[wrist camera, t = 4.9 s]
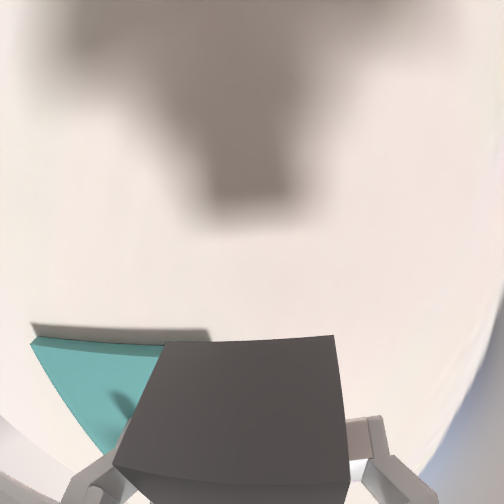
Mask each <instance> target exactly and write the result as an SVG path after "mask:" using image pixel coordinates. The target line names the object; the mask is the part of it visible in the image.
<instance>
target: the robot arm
mask: <svg viewBox="0 0 504 504" xmlns="http://www.w3.org/2000/svg"><path fill="white" fill-rule="evenodd" d="M130 420H131V419H130ZM130 420H129V422H130ZM129 422H128V424H127V427H128V425H129ZM345 422H346V431H347V441H348V452H349V463H350V475H351V481H350V482H355V481H361V482H362V483H363V485H364V486H365V487H366V488H367V490H368V491H369V492H370V493H371V494H372V496H373V497H374V498H375V499H376V500H377V501H378V503H379V504H439V501H438V496H437V493H436V492H435V491H433V490H432V489H431V488H430V487H429V486H428V485H427V484H426V483H424V482H423V481H422V480H421V479H420V478H419V477H418V476H417V475H416V474H414V473H413V472H412V471H411V470H410V469H409V468H408V467H407V466H406V465H405V464H403V463H402V462H401V461H400V460H399V459H398V458H397V457H396V456H395V455H390V453H389V448H388V442H387V437H386V432H385V427H384V422H383V418H382V416H381V415H377V416H370V417H361V418H354V419H347V420H345ZM127 427H126V429H127ZM126 429H125V431H126ZM125 431H124V433H123V436H124V434H125ZM123 436H122V438H123ZM122 438H121V440H120V443H121V441H122ZM120 443H119V445H120ZM119 445H118V447H117V449H114V448H113V449H112V450H111V451H109V452H108V453H107V454H105V455H104V456H102V457H101V458H99V459H98V460H97V461H95V462H94V463H92V464H91V465H89V466H88V467H86V468H85V469H84V470H82V471H81V472H79V473H78V474H76V475H75V476H73V477H72V478H71V481H70V483H69V485H68V487H67V489H66V492H65V494H64V496H63V498H62V500H61V502H57V501H56V500H53V499H51V498H49V497H47V496H45V495H43V494H41V493H39V492H38V491H36V490H33V489H32V488H30V487H28V486H26V485H25V484H23V483H21V482H19V481H18V480H16V479H14V478H12V477H11V476H9V475H7V474H6V473H4V472H2V471H1V470H0V504H123V503H124V502H125V501H127V500H128V499H129V498H130V497H131V496H132V495H133V494H134V493H135V492H136V491H137V490H138V489H137V488H136V487H135V486H133V485H132V484H131V483H130V482H129V481H128V480H127V479H126V478H125V477H124V476H123V475H122V474H121V473H120V472H119V471H118V470H117V469H116V468H115V467H114V466H113V465H112V462H113V460H114V457H115V455H116V452H117V450H118V448H119ZM503 504H504V503H503Z"/></svg>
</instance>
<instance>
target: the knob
mask: <svg viewBox="0 0 504 504" xmlns="http://www.w3.org/2000/svg"><path fill="white" fill-rule="evenodd" d="M112 465H113V466H114V467H115V468H116V469H117V470H118V471H119V472H120V473H121V474H122V475H123V476H124V477H125V478H126V479H127V480H128V481H129V482H130V483H131V484H132V485H133V486H135V487H136V488H137V489H138V490H139V491H140V492H141V493H142V494H143V495H144V496H146V497H147V498H148V499H149V500H150V501H151V502H152V503H154V504H344V502H345V498H346V495H347V492H348V488H349V485H350V481H351V475H350V463H349V452H348V441H347V431H346V422H345V413H344V405H343V397H342V389H341V381H340V374H339V367H338V360H337V353H336V346H335V340H334V335H327V336H316V337H303V338H289V339H273V340H253V341H224V342H166V343H165V345H164V347H163V349H162V352H161V354H160V356H159V358H158V360H157V362H156V365H155V367H154V369H153V371H152V373H151V375H150V378H149V380H148V382H147V384H146V386H145V389H144V391H143V393H142V395H141V397H140V400H139V402H138V404H137V406H136V409H135V411H134V413H133V415H132V418H131V420H130V422H129V425H128V427H127V429H126V431H125V434H124V436H123V438H122V441H121V443H120V445H119V448H118V450H117V452H116V455H115V457H114V460H113V462H112Z"/></svg>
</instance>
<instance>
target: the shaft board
mask: <svg viewBox="0 0 504 504" xmlns="http://www.w3.org/2000/svg"><path fill="white" fill-rule="evenodd" d="M30 345H31V347H32V349H33V351H34V353H35V355H36V356H37V358H38V360H39V362H40V364H41V365H42V367H43V369H44V371H45V372H46V374H47V376H48V377H49V379H50V381H51V382H52V384H53V385H54V387H55V389H56V390H57V392H58V393H59V395H60V396H61V398H62V399H63V401H64V402H65V404H66V405H67V407H68V408H69V410H70V411H71V413H72V414H73V415H74V417H75V418H76V420H77V421H78V422H79V424H80V425H81V427H82V428H83V429H84V431H85V432H86V433H87V434H88V436H89V437H90V438H91V440H92V441H93V442H94V443H95V445H96V446H97V447H98V448H99V450H100V451H101V452H102V453H103V455H105V454H107V453H108V452H109V451H111V450H112V449H113V448H114V449H117V447H118V445H119V443H120V440H121V438H122V436H123V433H124V431H125V429H126V427H127V424H128V422H129V420H130V419H131V418H132V415H133V413H134V411H135V409H136V406H137V404H138V402H139V400H140V397H141V395H142V393H143V391H144V389H145V386H146V384H147V382H148V380H149V378H150V375H151V373H152V371H153V369H154V367H155V365H156V362H157V360H158V358H159V356H160V354H161V352H162V349H163V347H164V346H160V345H134V344H116V343H101V342H88V341H76V340H66V339H56V338H48V337H39V336H37V337H36V338H35V339H34V340H33V342H32V343H31V344H30Z"/></svg>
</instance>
